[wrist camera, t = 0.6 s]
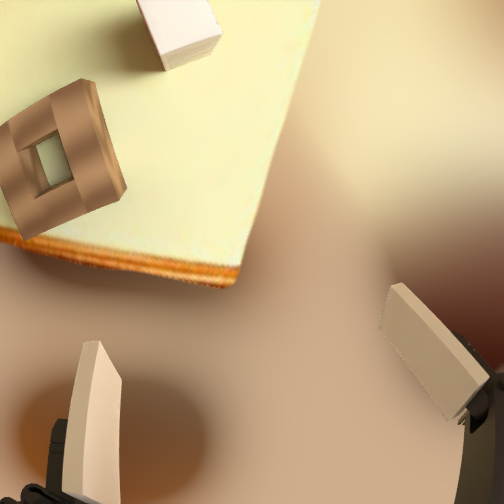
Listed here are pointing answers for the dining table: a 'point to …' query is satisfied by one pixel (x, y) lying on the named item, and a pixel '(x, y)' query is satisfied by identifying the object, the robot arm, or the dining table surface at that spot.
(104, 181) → the socket
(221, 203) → the dining table surface
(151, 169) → the dining table surface
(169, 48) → the small box
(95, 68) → the dining table surface
